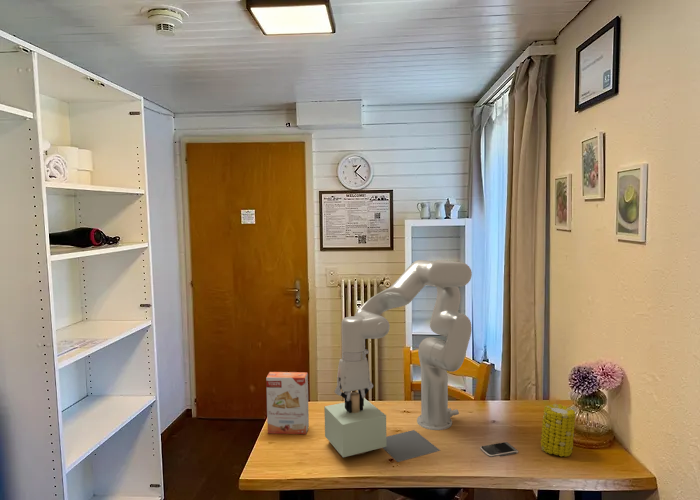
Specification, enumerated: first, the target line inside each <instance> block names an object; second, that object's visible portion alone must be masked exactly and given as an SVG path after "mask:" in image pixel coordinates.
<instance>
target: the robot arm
mask: <svg viewBox="0 0 700 500" xmlns="http://www.w3.org/2000/svg"><path fill="white" fill-rule="evenodd" d="M471 279H472V269H471V267H470V266H469V265H468V264H467V263H465V262H462V261H452V260H448V259H447V260H446V259H438V260H437V259H436V260H434V261H433V260H427V259H426V260H425V259H418V260H415V261H413V262H412V263H411V264H409V266H408V267H407V268H406V269H405V270H404V272H402V274H401V275H400V276H399V277H398V278H397V279H396V281H394V283H392V284H391V285H390V286H389V287H388V288H386V289H385V288H384V290H382V291H380V292H378V293H376V294H375V295H373V296H371V297H370V298H369V299H367V300H366V301H365V302H364V304H362V306H361V307H360V308H359V309H358V310H357V311H356V312H355V314H354V316H346V317H344V318H343V319H342V320H341V358H340V359H339V361H338V367H337V374H336V375H337V377H336V388H335V390H334V393H335V394H336V395H337V396H339V397H342V398H343V399H344V403H345V409H346V410H347V411H348V412H349V413H351V412H352V401H351V400H350V394H351V392H356V391H357V393H359V394H360V410H363V406H364V399H366V395H367V394H368V393H369V391H371V390H372V389H373V388H374V384H373V382H372V381H371V377H370V367H369V362H368V358H367V356H366V355H368V354H369V349H366V339H367V340H369V339H371V340H372V339H382V338H385V336H386V335H387V334H388V333H389V332H390V328H391V327H390V326H391V325H390V322H389V321H388V319H387V318H386V317H384V316H382V314H383V313H385V312H387V311H389V310H392V309H396V308H400V307H404V306H407V305H409V304H410V303H411V302H412V301H413V299H415V297H416V296H417V295H418V294H419V293H420V292H421V291H422V289H423V288H425V286H429V287H435V288H436V291H437V293H436V298H435V303H434V308H433V310H432V314H431V318H430V323H429V328H430V330H431V331H432V332H433V333H435V334H436V335H439V336H441V337H445V338H446V340H444V339H442V338H441V339H440V338H437V337H432V336H429V337H428V336H427V337H426V338H424V339H422V340H421V341H420V343H419V346H418V351H417V352H418V359H419V364H420V378H421V380H420V383H421V384H420V388H421V389H420V390H421V394H420V395H421V398H420V399H421V403H420V404H421V405H420V406H421V409H420V411H421V414H420V415H418V417H417V418H416V423H417V425H419V427H421V428H423V429H426V430H430V431H444V430H447V429H450V427H452V424H453V421H452V417H453V416H458V415H459V414H460V413H459V412H460V411H459V410H458V409H456V408H455V409H452V408H451V407H449V406H448V405H449V404H448V403H449V401H448V400H449V399H448V398H449V394H448V393H449V391H448V390H449V389H448V387H449V385H448V384H449V380H448V379H449V377H448V376H449V375H448V372H453V373H454V372H457V371H458V370H459V369H460V368H461V367H462V365H463V363H464V360H465V357H466V353H467V349H468V347H469V343H470V340H471V336H472V330H473V329H472V321H471V320H470V318H469V316H467V315H466V314H464V313H462V312H461V313H460V312H459V307H460V303H461V297H462V296H461V291H460V287H461V288H462V287H465V286H467V285H468V284H469V282H470V281H471Z"/></svg>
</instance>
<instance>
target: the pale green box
mask: <svg viewBox="0 0 700 500" xmlns="http://www.w3.org/2000/svg"><path fill="white" fill-rule="evenodd" d="M350 400H351V401H352V412H351V413H349V412H348V411H347V410H346V409H345V402H340V403H335V404H329V405H326V406H324V437H325V438H326V439H327V441H328V442H329V443H330V444H331V445H332V446H333V448H334V449H335V450H336V451H337V452H338V454H339V455H340V456H341V457H342V458H346V457H347V458H348V457H350V456H356V455H355V454H359V453H363V452H365V453H367V452H371V451H373V450H375V451H376V450H378V449H383V447H386V437H387V414H385V413H384V412H383V411H381V410H380V409H379V408H378V407H376V406H375V405H374V404H373V403H371V402H370V401H369V400H367V399H366V398H364V406H363V410H360V394H359V393H358V391H357V392H356V391H351V394H350ZM363 454H364V453H363Z"/></svg>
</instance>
